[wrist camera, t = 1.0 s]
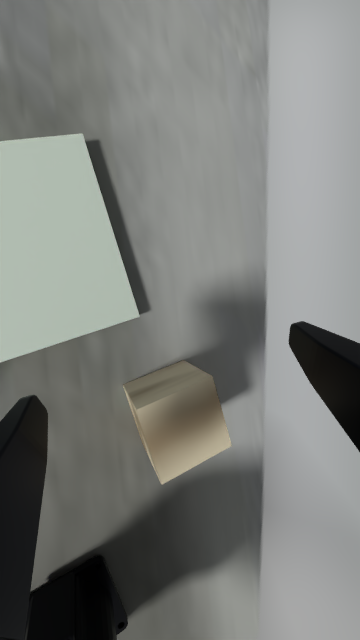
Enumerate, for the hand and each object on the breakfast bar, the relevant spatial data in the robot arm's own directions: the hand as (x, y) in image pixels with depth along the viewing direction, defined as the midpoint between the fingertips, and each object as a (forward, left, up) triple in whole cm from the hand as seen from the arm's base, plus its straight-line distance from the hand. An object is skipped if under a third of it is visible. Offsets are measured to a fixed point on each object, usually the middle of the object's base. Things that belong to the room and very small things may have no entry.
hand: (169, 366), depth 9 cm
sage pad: (+7, +5, -11) cm, 14 cm away
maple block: (-6, -1, -11) cm, 13 cm away
